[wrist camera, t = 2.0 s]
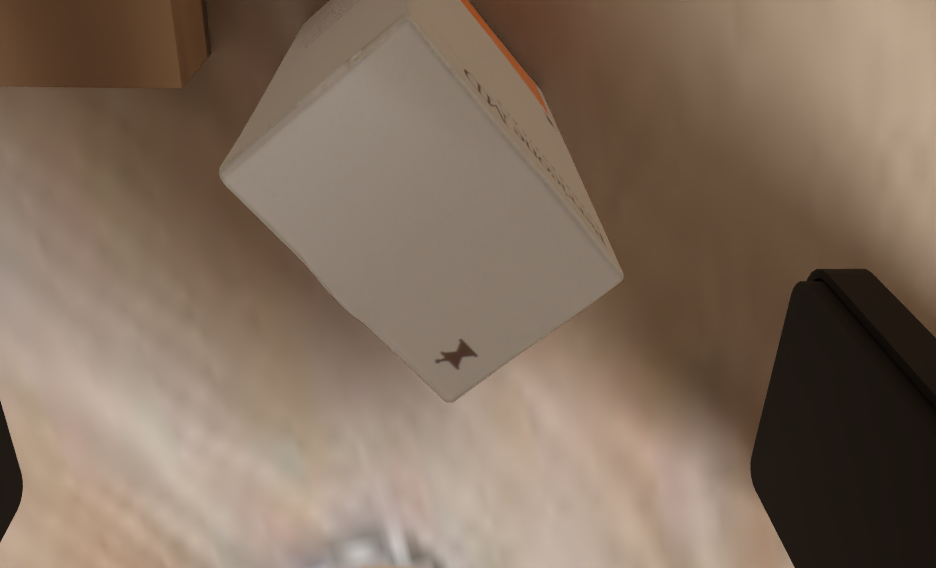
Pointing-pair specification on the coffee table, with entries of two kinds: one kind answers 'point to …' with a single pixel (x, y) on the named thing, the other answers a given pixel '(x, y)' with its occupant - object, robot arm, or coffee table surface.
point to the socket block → (102, 43)
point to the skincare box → (423, 186)
